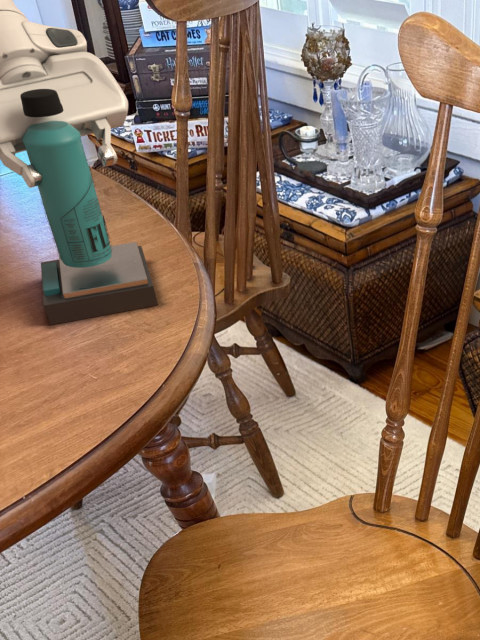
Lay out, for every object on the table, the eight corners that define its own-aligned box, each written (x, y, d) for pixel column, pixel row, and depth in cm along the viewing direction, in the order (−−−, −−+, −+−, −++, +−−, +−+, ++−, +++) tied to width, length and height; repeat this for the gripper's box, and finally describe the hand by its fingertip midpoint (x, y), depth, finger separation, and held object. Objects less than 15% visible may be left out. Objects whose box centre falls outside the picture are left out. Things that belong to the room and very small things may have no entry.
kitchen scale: (50, 325, 95) (41, 299, 93) (47, 281, 104) (38, 256, 102) (158, 305, 98) (151, 279, 96) (146, 263, 107) (139, 239, 105)
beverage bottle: (103, 281, 95) (51, 99, 82) (52, 278, 96) (-6, 97, 83) (126, 260, 100) (81, 84, 87) (78, 256, 101) (26, 82, 87)
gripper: (-87, 61, 81) (-13, 181, 83) (93, 28, 91) (156, 136, 93) (-83, 100, 87) (-14, 212, 88) (86, 65, 97) (146, 166, 98)
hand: (75, 173), depth 91 cm, fingers open, 8 cm apart
